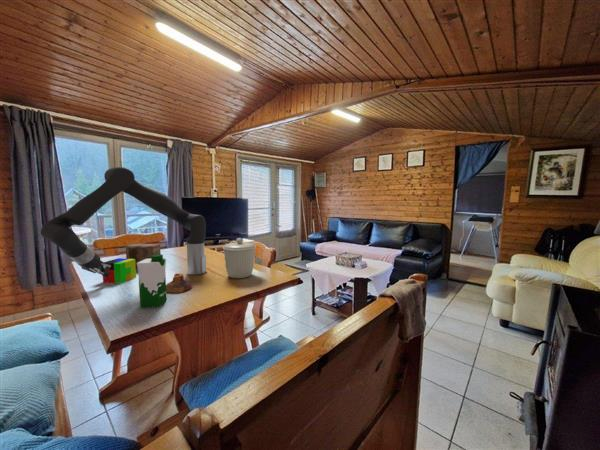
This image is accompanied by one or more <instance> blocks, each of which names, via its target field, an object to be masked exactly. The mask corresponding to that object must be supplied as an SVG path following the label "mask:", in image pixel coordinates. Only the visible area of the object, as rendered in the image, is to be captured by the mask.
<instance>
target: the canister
mask: <svg viewBox="0 0 600 450" xmlns="http://www.w3.org/2000/svg"><path fill="white" fill-rule="evenodd" d="M256 248H257V245H256V244H254V243H251V242H247V241H246V242H245V241H244V240H243V238H241V237H237V238H236V242H230V243H226V244H224V245H223V246H222V249H223V254H224V261H225V267H226V274H227V276H229V278H231V279H245V278H249V277H250V276H251V275H252V274H253V271H254V264H255V263H254V262H255V254H256Z"/></svg>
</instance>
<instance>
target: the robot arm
mask: <svg viewBox="0 0 600 450" xmlns="http://www.w3.org/2000/svg"><path fill="white" fill-rule="evenodd" d="M135 178H136V177H135V174H134V172H133V171H132V169H130V168H127V167H125V166H124V167H123V166H118V167H111V168H109V169H107V170H105V172H104V182H103V183H102V184H101V185H100V186H98V188H96V189H95V190H93V191H92V192H90V193H88V194H87V195H86V196H83V197H82V198H81V199H79V200H78V201H77V202H76V203H74V204H73V205H72V206H71V207H70V208H69V209H68V210H66V211H65V212H64V213H62V214H60V215H58V216H56V217H54V218H52V219H50V220H49V221H47V222H45V223H44V224H43V225H42V227H41V229H40V235H41V237H43V238H44V239H46V240H48V242H51V243H53V244H55V245H56V246H57V247H59V248H60V249H61V251H62V252H64V253H65V254H66V255H67V256H68V257H69V258H70V259H71V260H72V261H73V262H75V264H77V265H79V266H80V267H81V269H83V270H85V271H87V272H91V273H92V274H99V275H101V276H102V277H103V276H104V277H108V276H109V275H110V273H109V272H108V271H109V269H110V267H111V264H104V262H105V261H102V260H101V257H100V255H99V254H98V253H97V252H96V251H95V250H94V249H92V248H91V247H90V246H88V245H87V244H86V243H85V242H83V240H81V239H80V238H79V236H78V235H77V234H76V233H75V232H74V230H72V229H71V227H72V226H81V225H83V224H85V223H86V222H87V221H88V220H90V218H92V217H93V216H94V215H95V214H96V213H97V212H98V211H99V210H100V209H102V207H103V206H105V205H106V204H107V203H108V202H110V200H112V199H113V198H115V197H116V196H117V195H118V194H120V193H122V192H123V193H126V194H127V195H130V196H131V197H133V198H135V199H136V200H138V201H139V202H140V203H142V204H144V205H145V206H147V207H148V208H150V209H151V210H154V211H156V212H158V213H159V214H160V215H163V216H165V217H167V218H169V219H171V220H173V221H175V222H176V223H178V224H179V225H181V226H182V227H183V228H184V229H187V230H189V231H190V236H188V237H187V238H186V257H187V258H186V259H187V261H186V263H187V274H188V275H191V276H193V275H194V276H195V275H203V274H205V272H207V255H206V253H205V240H206V235H207V233H206V231H207V223H206V219H205V217H204V216H203V215H202V214H194V213H190V212H187V210H184V209H183V208H181V207H180V206H179V205H178V203H176V201H174V199H173V198H171V197H170V196H168V195H167V194H166V193H163V192H162V191H159V190H157V189H155V188H152V187H151V186H147V185H144V184H142V183H140V182H139V181H137V180H136V179H135Z"/></svg>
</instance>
